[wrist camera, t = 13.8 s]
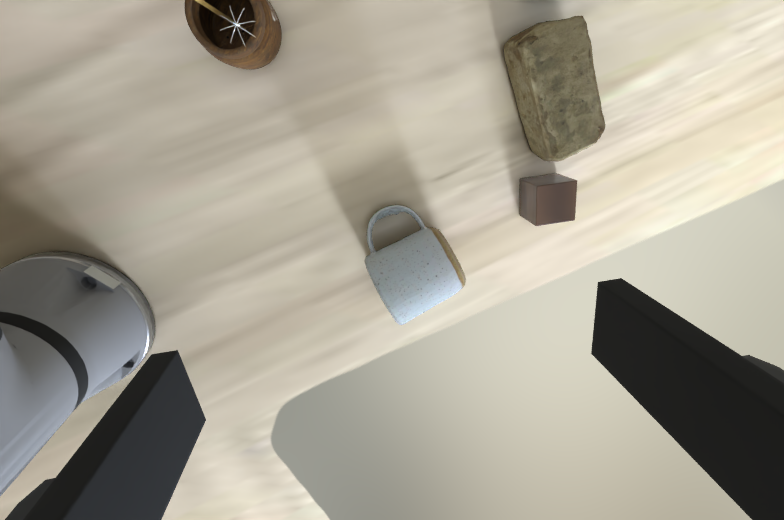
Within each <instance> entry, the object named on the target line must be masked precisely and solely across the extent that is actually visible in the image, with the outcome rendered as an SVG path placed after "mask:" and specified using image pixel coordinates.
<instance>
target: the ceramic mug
mask: <svg viewBox="0 0 784 520" xmlns="http://www.w3.org/2000/svg"><path fill="white" fill-rule="evenodd" d="M399 212H406V213H408V214H410V215H411V216H412V217H413V218H414V219H415V220H416V221H417V222H418V224H419V226H420V228H421V230H420V231H417V232H416V233H413V234H411V235H409V236H407V237H405V238H403V239H402V240H400V241H398V242H396V243H393V244H391V245H389V246H387V247H384V248H382V249H380V250H378V251H376V250H375V249H374V246H373V241H372V227H373V225H374V223H375V222H376V221H377V220H378V219H381V218H383V217H385V216H388V215H391V214H398V213H399ZM367 241H368V245H369V249H370V252H371V254H370V255H368V256H367V257H366V258H365V264H366V268H367V270H368V272H369V275H370V277H371V279H372V281H373V283H374V285H375V287H376V289H377V291H378V293H379V295H380V297H381V299H382V301H383V302H384V304H385V305H386V307H387V309H388V310H389V312H390V313H391V315H392V317H393V318H394V320H395V321H396V322H397V323H398V324H400V325H402V324H405V323H407V322H408V321H410V320H411V319H413V318H415V317H417V316H418V315H420V314H422V313H424V312H425V311H427V310H429V309H431V308H432V307H434V306H435V305H437V304H439V303H440V302H442V301H444V300H446V299H448V298H449V297H451V296H453V295H454V294H456V293H457V292H458V291H459V290H460V289H462V288H463V287H464V285H465V282H466V278H465V275H464V272H463V270H462V268H461V265H460V263H459V262H458V260H457V258H456V256H455V254H454V253H453V251H452V249H451V247H450V245H449V244H448V242H447V240H446V239H445V237H444V236H443V234H442V233H441V232H440V231H439V230H438V229H436V228H433V227H430V228H427V227H425V226H424V224H423V222H422V220H421V218H420V217H419V216H418V215H417V214H416V213H415V212H414V211H413V210H411V209H410V208H408V207H405V206H402V205H391V206H388V207H385V208H383V209H380V210H379V211H377V212H376V213H375V214H374V215H373V216H372V218H371V219H370V221H369V224H368V228H367Z"/></svg>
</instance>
